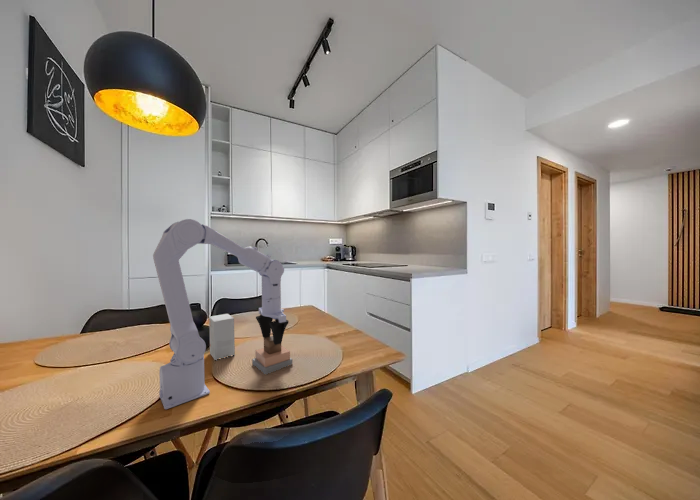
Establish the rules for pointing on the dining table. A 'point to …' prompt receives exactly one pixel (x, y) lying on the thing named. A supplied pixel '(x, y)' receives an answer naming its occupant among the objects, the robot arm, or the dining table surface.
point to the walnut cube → (271, 345)
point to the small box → (221, 336)
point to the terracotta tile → (272, 356)
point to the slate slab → (271, 367)
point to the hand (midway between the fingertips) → (272, 340)
